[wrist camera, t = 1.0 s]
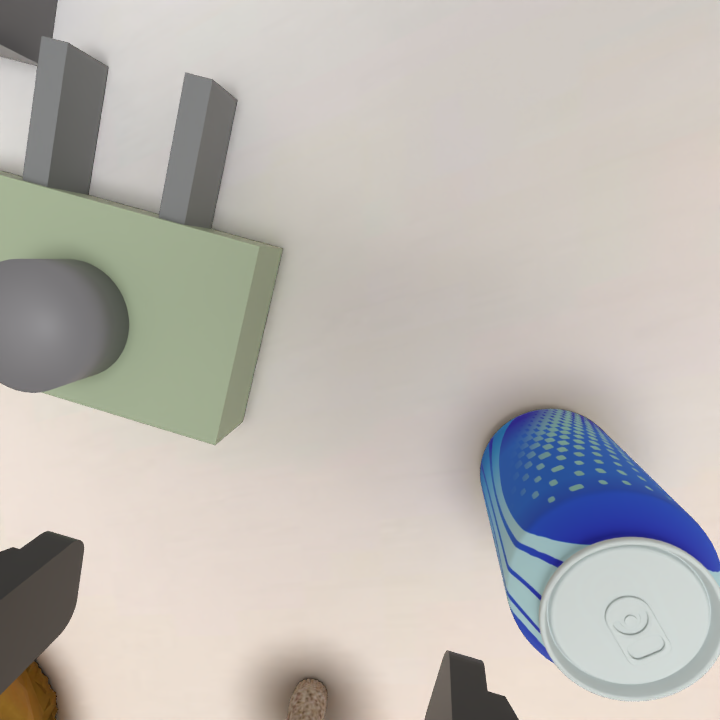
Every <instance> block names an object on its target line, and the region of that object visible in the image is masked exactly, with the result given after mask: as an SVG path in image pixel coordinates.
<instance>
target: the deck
mask: <svg viewBox="0 0 720 720" xmlns="http://www.w3.org/2000/svg"><path fill="white" fill-rule="evenodd" d="M107 73H108V66H106V65H104V64H103V63H101V62H99V61H98V60H96V59H94V58H93V57H91V56H89V55H88V54H86V53H84V52H83V51H81V50H79V49H78V48H76V47H74V46H73V45H71V44H69V43H68V42H64V41H60V40H56V39H52V38H48V37H44V36H42V37H41V44H40V52H39V59H38V67H37V74H36V82H35V89H34V97H33V104H32V112H31V119H30V127H29V134H28V141H27V149H26V156H25V164H24V171H23V177H21V176H18V175H14V174H10V173H7V172H3V171H0V383H2V384H3V385H5V386H7V387H9V388H12V389H15V390H18V391H22V392H30V393H36V392H42V393H45V394H49V395H52V396H55V397H58V398H62V399H65V400H68V401H72V402H75V403H78V404H81V405H85V406H88V407H91V408H94V409H98V410H101V411H104V412H108V413H111V414H114V415H117V416H121V417H124V418H127V419H131V420H134V421H137V422H140V423H144V424H147V425H150V426H154V427H157V428H160V429H163V430H167V431H170V432H173V433H177V434H180V435H183V436H186V437H190V438H193V439H196V440H200V441H203V442H206V443H209V444H213V445H216V444H217V443H218V442H220V441H221V440H222V439H223V438H224V437H225V436H227V435H228V434H229V433H230V432H231V431H232V430H234V429H235V428H236V427H237V426H238V425H239V424H241V423H242V422H243V418H244V414H245V410H246V405H247V401H248V397H249V392H250V388H251V384H252V380H253V375H254V371H255V367H256V362H257V358H258V354H259V349H260V345H261V341H262V337H263V332H264V328H265V324H266V319H267V315H268V311H269V306H270V302H271V298H272V294H273V289H274V285H275V281H276V276H277V272H278V268H279V263H280V259H281V255H282V251H283V248H279V247H276V246H272V245H268V244H265V243H261V242H257V241H254V240H250V239H247V238H243V237H239V236H236V235H232V234H228V233H225V232H221V231H218V230H214V229H211V227H212V222H213V217H214V212H215V207H216V202H217V197H218V192H219V187H220V183H221V178H222V173H223V168H224V163H225V158H226V153H227V148H228V143H229V139H230V134H231V129H232V124H233V119H234V114H235V109H236V104H237V99H235V98H234V97H233V96H232V95H231V94H229V93H228V92H227V91H226V90H225V89H223V88H222V87H221V86H220V85H219V84H218V83H216V82H215V81H214V80H213V79H209V78H205V77H201V76H197V75H193V74H189V73H185V77H184V82H183V88H182V93H181V98H180V104H179V109H178V115H177V120H176V126H175V131H174V136H173V142H172V147H171V153H170V158H169V163H168V169H167V174H166V180H165V185H164V190H163V196H162V201H161V207H160V212H159V214H156V213H152V212H149V211H145V210H141V209H138V208H134V207H130V206H127V205H123V204H119V203H116V202H112V201H109V200H105V199H101V198H98V197H94V196H90V195H88V193H89V186H90V180H91V174H92V167H93V161H94V155H95V148H96V142H97V136H98V129H99V123H100V117H101V111H102V104H103V98H104V92H105V85H106V79H107Z"/></svg>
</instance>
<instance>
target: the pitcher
mask: <svg viewBox="0 0 720 720" xmlns="http://www.w3.org/2000/svg"><path fill="white" fill-rule="evenodd" d="M50 687H51V685H49V684H48V677H47V676H44V674H43V673H41V668H38V664H37V663H36V662H34V661H33V662H32V663H31V664H30V665H29V666H28V667H27V668H26V669H25V670H24V672H23V673H22V674H21V675H20V676H19V677H18V678H17V679H16V680H15V681H14V682H13V683H12V684H11V685H10V686H9V687H8V688H7V689H6V690H5V691H4V692H3V693H2V694H1V695H0V720H56V718H55V715H56V713H57V711H58V708H57V707H56V705H57V703H56V697H57V696H56V695H55V694H56V692H55V691H54V692H53V690H52V689H51V688H50Z"/></svg>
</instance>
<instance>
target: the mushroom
mask: <svg viewBox="0 0 720 720" xmlns="http://www.w3.org/2000/svg"><path fill="white" fill-rule="evenodd" d="M326 709H327V690H326V689H325V686H323V685H322V683H319V682H318V680H316V681H315V680H314V679H311V680H310V679H307V680H304V679H303V682H299V684H298V685H297V686H296V688H295V690H294V692H293V694H292V696H291V700H290V703H289V709H288V716H287V720H323V719H324V715H325V712H326Z"/></svg>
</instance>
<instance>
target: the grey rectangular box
mask: <svg viewBox="0 0 720 720" xmlns="http://www.w3.org/2000/svg"><path fill="white" fill-rule="evenodd" d="M57 1H58V0H0V56H1V57H4V58H8V59H12V60H16V61H20V62H24V63H28V64H31V65H35V66H38V59H39V52H40V44H41V37H42V36H44V37H48V38H52V37H53V30H54V23H55V16H56V8H57Z"/></svg>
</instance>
